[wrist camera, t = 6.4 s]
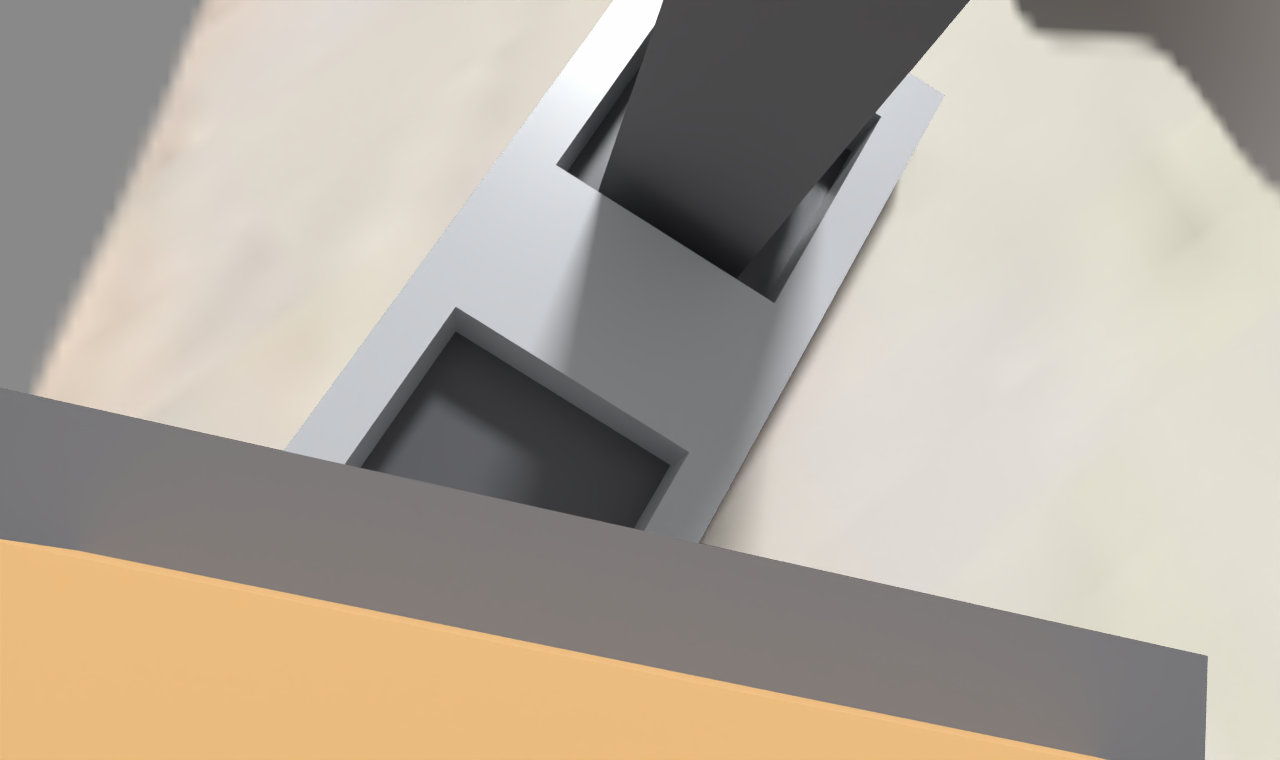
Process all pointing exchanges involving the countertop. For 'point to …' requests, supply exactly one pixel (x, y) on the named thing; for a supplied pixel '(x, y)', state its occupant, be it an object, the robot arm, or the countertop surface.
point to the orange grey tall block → (490, 628)
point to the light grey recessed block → (599, 320)
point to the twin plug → (756, 110)
